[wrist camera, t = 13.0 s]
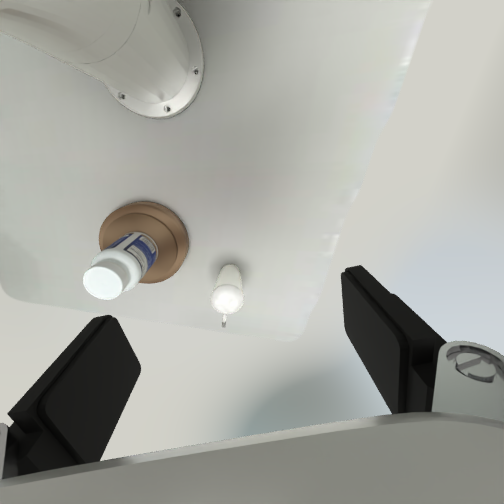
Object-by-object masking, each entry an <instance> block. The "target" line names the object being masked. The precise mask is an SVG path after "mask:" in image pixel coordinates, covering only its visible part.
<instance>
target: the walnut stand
mask: <svg viewBox="0 0 504 504" xmlns="http://www.w3.org/2000/svg"><path fill="white" fill-rule="evenodd" d="M130 232H140V233H144V234H146V235H148V236H149V237H151V238H152V239H153V240H154V242H155V243H156V245H157V248H158V256H157V259H156V261H155V262H154V263H153V265H152V266H151V267H150V269H149V270H148V271H147V272H146V274H145V275H144V276H143V278H142V279H141V280H140V281H139V283H157V282H161V281H164V280H166V279H168V278H170V277H171V276H173V275H174V274H175V273H176V272H177V271H178V269H179V268H180V266H181V265H182V263H183V261H184V259H185V257H186V255H187V252H188V247H189V239H188V234H187V231H186V228H185V226H184V224H183V223H182V221H181V220H180V219H179V218H178V216H177V215H175V214H174V213H173V212H172V211H171V210H169V209H168V208H166V207H164V206H162V205H160V204H157V203H153V202H144V201H142V202H135V203H131V204H128V205H126V206H124V207H122V208H119V209H117V210H116V211H114V212H112V213H111V214H110V215H109V216H108V217H107V218H106V219H105V220H104V222H103V224H102V226H101V228H100V232H99V245H100V249H101V251H102V250H104V249H105V248H107V247H108V246H110V245H111V244H112V243H114V242H115V241H117V240H118V239H119V238H121V237H122V236H124V235H125V234H127V233H130Z"/></svg>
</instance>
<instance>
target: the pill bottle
mask: <svg viewBox="0 0 504 504" xmlns="http://www.w3.org/2000/svg"><path fill="white" fill-rule="evenodd" d="M157 256H158V248H157V245H156V243H155V242H154V240H153V239H152V238H151V237H149V236H148V235H146V234H144V233H140V232H130V233H127V234H125V235H124V236H122V237H121V238H119V239H118V240H117V241H115V242H114V243H112V244H111V245H110V246H108V247H107V248H105V249H104V250H102V251H101V252H100V253H98V254H97V255H96V256H95V257H94V259H93V261H92V263H91V268H89V269H88V270H87V271H86V272H85V274H84V276H83V284H84V286H85V288H86V290H87V291H88V292H89V293H90V294H91V295H93V296H94V297H96V298H99V299H103V300H110V299H114V298H116V297H118V296H119V295H120V294H121V293H122V292H125V291H128V290H130V289H132V288H134V287H135V286H136V285H137V284H138V283H139V281H140V280H141V279H142V278H143V276H144V275H145V274H146V272H147V271H148V270H149V269H150V267H151V266H152V265H153V263H154V262H155V261H156V259H157Z"/></svg>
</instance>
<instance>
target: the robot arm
mask: <svg viewBox="0 0 504 504" xmlns="http://www.w3.org/2000/svg"><path fill="white" fill-rule="evenodd" d="M178 14H180V15H181V16H180V17H179V18H177V15H178ZM0 32H2V33H4V34H7V35H9V36H11V37H13V38H15V39H18V40H20V41H22V42H24V43H26V44H28V45H30V46H32V47H34V48H36V49H38V50H40V51H42V52H44V53H46V54H48V55H50V56H52V57H54V58H56V59H58V60H60V61H62V62H64V63H66V64H68V65H70V66H72V67H74V68H76V69H78V70H80V71H82V72H84V73H86V74H88V75H90V76H92V77H94V78H96V79H98V80H100V81H102V82H103V83H104V85H105V86H106V88H107V89H108V90H109V92H110V93H111V94H112V96H113V97H114V98H115V99H116V100H117V101H118V102H119V103H120V104H122V105H123V106H125V107H126V108H127V109H129V110H130V111H132V112H134V113H137V114H139V115H141V116H144V117H148V118H154V119H162V118H168V117H172V116H175V115H177V114H179V113H181V112H182V111H183V110H185V109H186V108H187V107H188V106H189V105H190V104H191V103H192V101H193V100H194V99H195V97H196V95H197V93H198V91H199V89H200V86H201V82H202V79H203V71H204V57H203V50H202V45H201V41H200V38H199V35H198V32H197V30H196V28H195V26H194V24H193V22H192V20H191V18H190V17H189V15H188V14H187V12H186V11H185V9H184V8H183V7H182V6H181V5H180V4H179V3H178V2H177V1H176V0H0ZM195 71H198V74H197V75H196V74H195ZM124 95H125V99H123V96H124ZM168 108H170V109H171V111H170V112H168V111H167V109H168ZM341 284H342V298H343V312H344V326H345V331H346V333H347V336H348V337H349V339H350V341H351V343H352V344H353V346H354V348H355V350H356V351H357V353H358V355H359V357H360V358H361V360H362V362H363V364H364V365H365V367H366V369H367V371H368V372H369V374H370V376H371V378H372V379H373V381H374V383H375V385H376V386H377V388H378V390H379V392H380V393H381V395H382V397H383V399H384V400H385V402H386V404H387V406H388V407H389V409H390V411H391V413H392V414H391V415H381V416H374V417H367V418H360V419H353V420H346V421H339V422H332V423H325V424H319V425H313V426H307V427H301V428H295V429H288V430H282V431H276V432H270V433H264V434H258V435H251V436H245V437H239V438H233V439H227V440H221V441H215V442H209V443H203V444H197V445H192V446H185V447H180V448H174V449H168V450H163V451H156V452H150V453H144V454H139V455H133V456H127V457H122V458H116V459H110V460H104V461H100V459H101V457H102V455H103V453H104V451H105V448H106V446H107V444H108V442H109V440H110V438H111V435H112V433H113V431H114V429H115V427H116V424H117V423H118V420H119V418H120V416H121V414H122V412H123V410H124V407H125V405H126V403H127V401H128V398H129V397H130V394H131V392H132V390H133V388H134V385H135V384H136V381H137V379H138V377H139V375H140V372H141V365H140V363H139V361H138V359H137V357H136V355H135V353H134V351H133V349H132V347H131V345H130V343H129V342H128V340H127V338H126V336H125V334H124V332H123V330H122V328H121V326H120V324H119V322H118V320H117V319H116V318H114V317H112V316H111V315H105V316H100V317H96V318H93V319H92V320H91V321H90V322H89V323H88V324H87V326H86V327H85V328H84V329H83V330H82V331H81V332H80V333H79V335H78V336H77V337H76V338H75V339H74V340H73V341H72V342H71V343H70V345H69V346H68V347H67V348H66V349H65V350H64V351H63V352H62V353H61V355H60V356H59V357H58V358H57V359H56V360H55V361H54V362H53V363H52V365H51V366H50V367H49V368H48V369H47V370H46V371H45V372H44V374H43V375H42V376H41V377H40V378H39V379H38V380H37V381H36V383H35V384H34V385H33V386H32V387H31V388H30V389H29V390H28V391H27V392H26V394H25V395H24V396H23V397H22V398H21V399H20V400H19V401H18V402H17V404H16V405H15V406H14V407H13V408H12V409H11V410H10V411H9V412H8V415H9V416H10V417H11V419H12V420H13V421H14V423H13V424H12V425H11V426H10V427H8V426H7V425H6V424H4V423H0V504H504V356H503V355H501V354H500V353H498V352H497V351H495V350H493V349H490V348H489V347H486V346H483V345H480V344H477V343H473V342H467V341H453V342H449V343H447V342H446V341H445V340H444V339H443V338H442V337H441V336H440V335H439V334H437V333H436V332H435V331H434V330H433V329H432V328H431V327H430V326H429V325H428V324H427V323H426V322H425V321H424V320H422V319H421V318H420V317H419V316H418V315H417V314H416V313H415V312H414V311H412V309H411V308H410V307H408V306H407V305H406V304H405V303H404V302H403V301H402V300H401V299H400V298H399V297H398V296H396V295H395V294H391V293H390V292H389V291H388V290H387V289H386V288H384V287H383V286H382V285H381V284H380V283H379V282H378V281H377V280H376V279H375V278H374V277H373V276H372V275H371V274H370V273H369V272H368V271H367V270H365V268H363V267H362V266H361V265H359V266H354V267H350V268H346V269H345V272H342V273H341Z"/></svg>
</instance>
